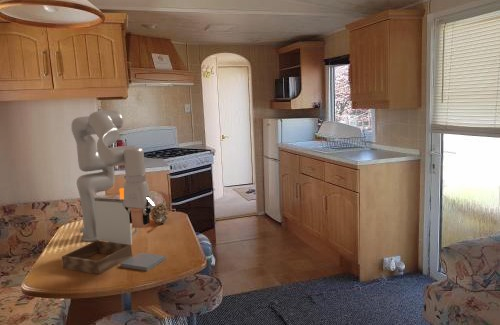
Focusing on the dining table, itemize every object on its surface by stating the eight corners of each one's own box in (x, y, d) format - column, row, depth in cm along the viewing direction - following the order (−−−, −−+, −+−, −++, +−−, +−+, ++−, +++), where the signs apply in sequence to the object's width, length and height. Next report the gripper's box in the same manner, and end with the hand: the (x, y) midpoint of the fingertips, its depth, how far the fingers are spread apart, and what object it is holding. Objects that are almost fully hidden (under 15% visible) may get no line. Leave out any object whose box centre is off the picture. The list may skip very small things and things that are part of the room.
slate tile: (120, 266, 163) (120, 263, 163) (140, 255, 174) (139, 252, 174) (147, 271, 158) (147, 267, 158) (165, 259, 169) (165, 255, 169)
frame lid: (131, 244, 173) (132, 243, 174) (129, 200, 171) (130, 199, 172) (96, 239, 181) (98, 239, 182) (94, 197, 179) (96, 197, 180)
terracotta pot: (127, 227, 162) (124, 197, 160) (138, 222, 168) (136, 193, 166) (141, 229, 159) (138, 198, 157) (152, 223, 165) (149, 194, 163)
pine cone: (150, 219, 226) (149, 202, 225) (168, 217, 229) (167, 200, 227) (151, 231, 205) (150, 212, 204) (171, 229, 208) (169, 210, 206)
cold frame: (63, 268, 164) (61, 256, 164) (97, 251, 181) (96, 240, 181) (99, 274, 157) (98, 262, 156) (132, 256, 174) (131, 245, 173)
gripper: (112, 180, 161) (116, 224, 163) (147, 181, 154) (151, 227, 156) (125, 176, 167) (128, 218, 170) (159, 178, 160) (163, 222, 163)
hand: (139, 222), depth 163 cm, fingers closed on terracotta pot, 6 cm apart
